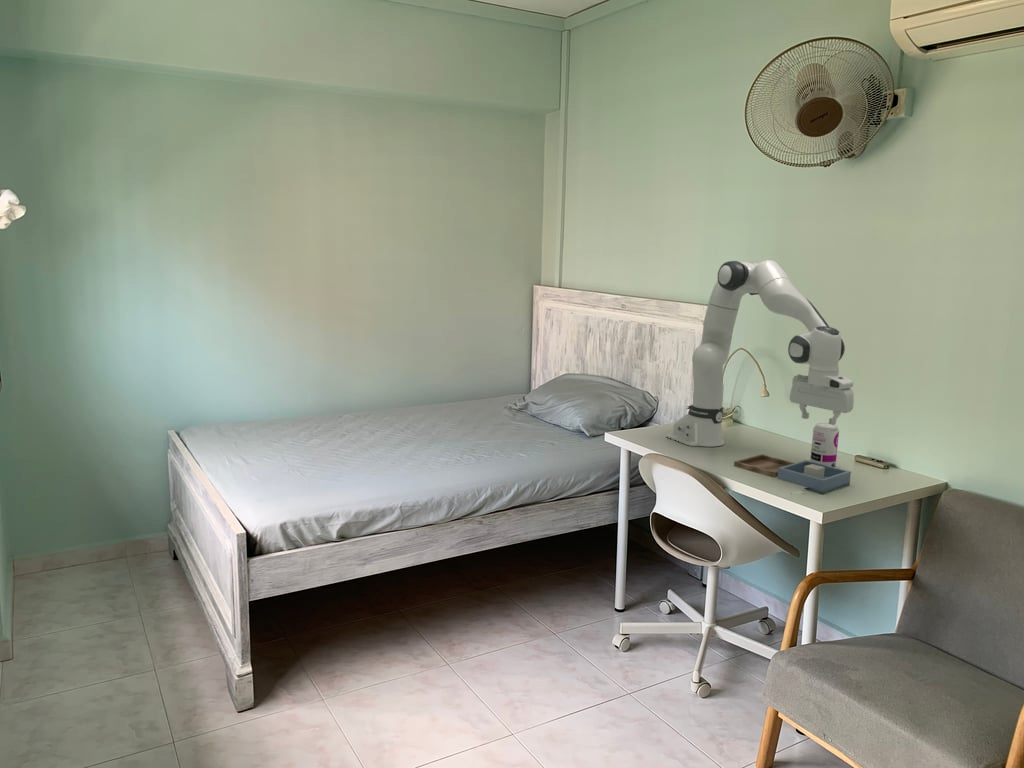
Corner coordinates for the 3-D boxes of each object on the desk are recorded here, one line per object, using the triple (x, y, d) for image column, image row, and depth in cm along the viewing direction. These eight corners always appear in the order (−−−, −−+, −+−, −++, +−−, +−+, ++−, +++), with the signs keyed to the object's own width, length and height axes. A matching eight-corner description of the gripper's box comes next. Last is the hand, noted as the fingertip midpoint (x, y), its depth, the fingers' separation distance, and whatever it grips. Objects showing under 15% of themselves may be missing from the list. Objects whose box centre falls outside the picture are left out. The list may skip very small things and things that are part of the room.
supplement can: (836, 466, 276) (841, 424, 274) (832, 472, 269) (837, 429, 267) (812, 462, 280) (816, 421, 278) (807, 468, 273) (811, 426, 271)
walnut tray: (733, 468, 271) (734, 461, 271) (761, 461, 281) (761, 454, 281) (774, 480, 259) (775, 473, 259) (802, 472, 269) (802, 465, 268)
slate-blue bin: (777, 481, 258) (778, 468, 258) (804, 472, 268) (805, 460, 267) (822, 494, 246) (823, 480, 245) (849, 485, 256) (850, 471, 255)
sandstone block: (803, 479, 257) (804, 466, 256) (810, 477, 260) (812, 464, 259) (815, 483, 254) (817, 469, 253) (823, 480, 257) (824, 467, 256)
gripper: (787, 374, 257) (784, 416, 259) (847, 384, 241) (842, 429, 243) (799, 372, 260) (795, 413, 263) (858, 382, 245) (853, 426, 247)
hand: (818, 421), depth 253 cm, fingers open, 8 cm apart
